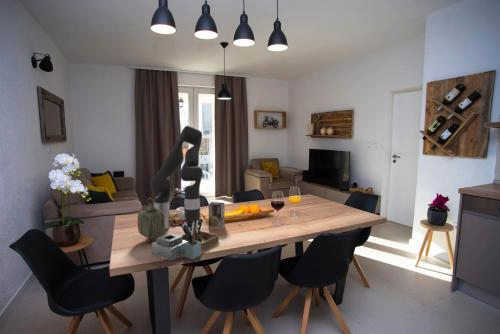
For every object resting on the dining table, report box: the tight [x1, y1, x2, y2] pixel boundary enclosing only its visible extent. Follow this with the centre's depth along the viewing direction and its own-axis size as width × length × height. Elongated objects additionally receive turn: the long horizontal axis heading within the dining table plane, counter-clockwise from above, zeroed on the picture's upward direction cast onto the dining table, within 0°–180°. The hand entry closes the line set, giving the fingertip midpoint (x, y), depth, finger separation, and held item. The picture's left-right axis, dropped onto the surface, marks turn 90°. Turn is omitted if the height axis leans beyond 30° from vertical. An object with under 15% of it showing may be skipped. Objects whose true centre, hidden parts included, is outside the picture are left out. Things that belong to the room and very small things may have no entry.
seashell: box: [185, 234, 203, 243], centre depth 151 cm, size 11×12×10 cm
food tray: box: [169, 206, 202, 227], centre depth 193 cm, size 25×24×9 cm
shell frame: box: [180, 230, 220, 252], centre depth 152 cm, size 17×16×4 cm
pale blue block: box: [151, 232, 188, 262], centre depth 139 cm, size 14×11×8 cm
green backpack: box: [137, 197, 166, 243], centre depth 154 cm, size 14×9×25 cm, turn 48°
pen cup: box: [184, 241, 202, 260], centre depth 137 cm, size 6×6×7 cm
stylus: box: [191, 226, 195, 245], centre depth 136 cm, size 2×2×12 cm
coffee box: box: [207, 201, 226, 230], centre depth 179 cm, size 9×6×16 cm
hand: (192, 240), depth 136 cm, fingers closed on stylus, 2 cm apart
